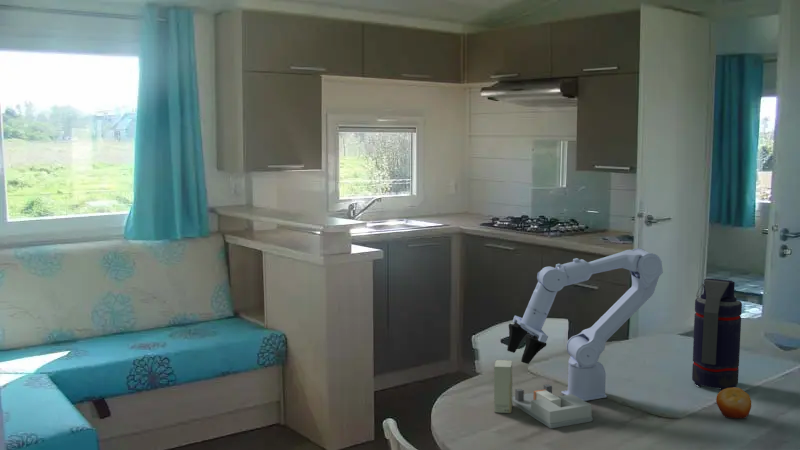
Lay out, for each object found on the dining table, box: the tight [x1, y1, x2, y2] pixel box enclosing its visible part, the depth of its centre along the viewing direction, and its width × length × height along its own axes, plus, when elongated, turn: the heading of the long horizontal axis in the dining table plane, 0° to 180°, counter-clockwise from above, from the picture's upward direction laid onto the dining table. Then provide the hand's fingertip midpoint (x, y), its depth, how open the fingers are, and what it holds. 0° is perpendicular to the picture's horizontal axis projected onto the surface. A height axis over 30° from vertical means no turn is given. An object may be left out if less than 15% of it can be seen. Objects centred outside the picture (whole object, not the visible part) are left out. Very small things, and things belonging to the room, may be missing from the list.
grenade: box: [691, 278, 743, 391], centre depth 216 cm, size 14×12×30 cm
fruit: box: [715, 386, 752, 419], centre depth 196 cm, size 8×8×8 cm
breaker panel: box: [512, 383, 593, 429], centre depth 201 cm, size 12×21×4 cm, turn 22°
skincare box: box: [493, 359, 513, 414], centre depth 201 cm, size 6×4×12 cm
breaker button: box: [533, 388, 561, 407], centre depth 201 cm, size 3×8×3 cm, turn 22°
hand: (517, 357), depth 208 cm, fingers open, 7 cm apart
